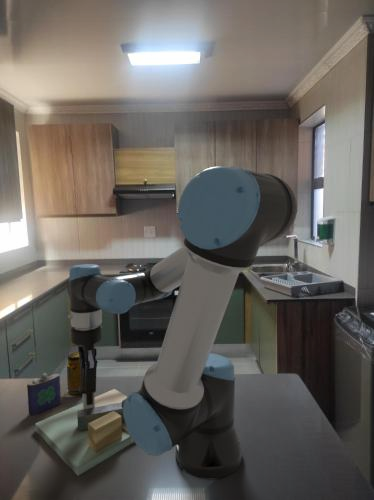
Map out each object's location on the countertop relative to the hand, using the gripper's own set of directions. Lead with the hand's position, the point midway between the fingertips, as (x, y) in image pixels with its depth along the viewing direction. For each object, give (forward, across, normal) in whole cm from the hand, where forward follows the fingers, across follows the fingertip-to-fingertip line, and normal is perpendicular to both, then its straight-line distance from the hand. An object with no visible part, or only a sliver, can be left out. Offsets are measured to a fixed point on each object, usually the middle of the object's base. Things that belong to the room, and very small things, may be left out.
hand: (89, 414), depth 85 cm
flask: (+4, -15, -10) cm, 18 cm away
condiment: (+5, -21, +1) cm, 21 cm away
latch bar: (+1, +3, +4) cm, 5 cm away
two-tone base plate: (+4, +1, +2) cm, 5 cm away
